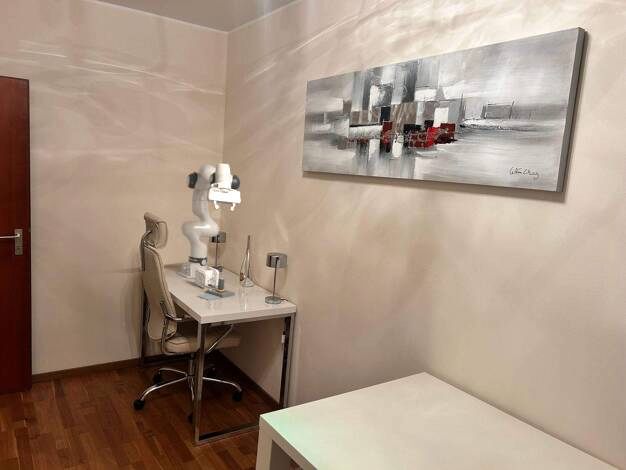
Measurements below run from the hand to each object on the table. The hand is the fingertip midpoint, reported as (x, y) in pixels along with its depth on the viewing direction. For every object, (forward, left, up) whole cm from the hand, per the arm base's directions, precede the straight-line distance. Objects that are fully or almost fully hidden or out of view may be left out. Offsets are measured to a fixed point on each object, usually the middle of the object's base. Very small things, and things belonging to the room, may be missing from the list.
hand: (224, 210), depth 284 cm
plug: (-5, +6, -53) cm, 53 cm away
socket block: (-5, +6, -53) cm, 53 cm away
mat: (-4, -5, -53) cm, 53 cm away
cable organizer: (-25, +12, -53) cm, 60 cm away
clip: (-13, +3, -49) cm, 51 cm away
